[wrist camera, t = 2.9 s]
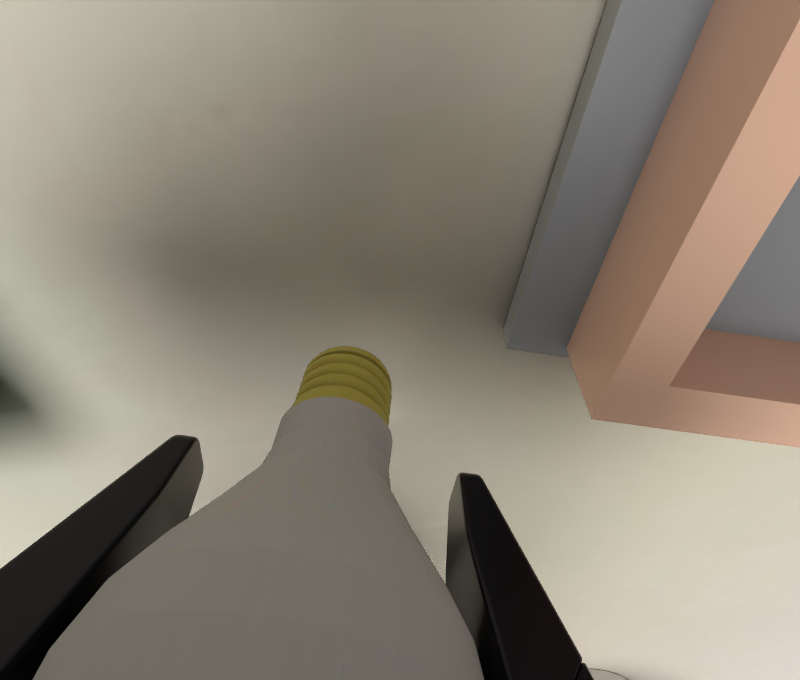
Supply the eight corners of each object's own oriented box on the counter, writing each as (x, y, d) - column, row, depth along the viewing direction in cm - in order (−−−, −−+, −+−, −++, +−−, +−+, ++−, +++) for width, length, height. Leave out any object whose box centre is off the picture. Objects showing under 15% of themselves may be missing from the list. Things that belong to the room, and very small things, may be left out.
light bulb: (466, 257, 10) (600, 1503, 2) (466, 441, 13) (512, 1185, 5) (208, 268, 10) (-595, 1268, 2) (269, 443, 14) (21, 1117, 5)
